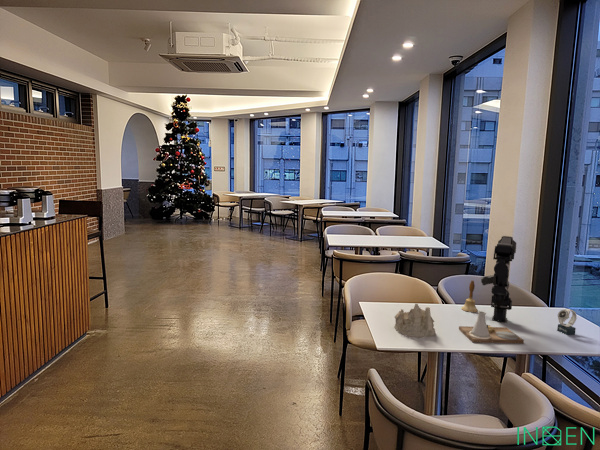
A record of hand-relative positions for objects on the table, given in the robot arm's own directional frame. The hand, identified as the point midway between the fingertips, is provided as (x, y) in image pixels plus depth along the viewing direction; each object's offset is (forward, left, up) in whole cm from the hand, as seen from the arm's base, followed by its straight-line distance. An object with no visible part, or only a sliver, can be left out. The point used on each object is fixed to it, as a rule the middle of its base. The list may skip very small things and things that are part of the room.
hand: (499, 304), depth 194 cm
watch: (-14, +28, -12) cm, 34 cm away
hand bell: (-24, -15, -12) cm, 31 cm away
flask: (+16, -6, -10) cm, 20 cm away
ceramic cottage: (+23, -32, -12) cm, 42 cm away
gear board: (+11, -2, -12) cm, 16 cm away
